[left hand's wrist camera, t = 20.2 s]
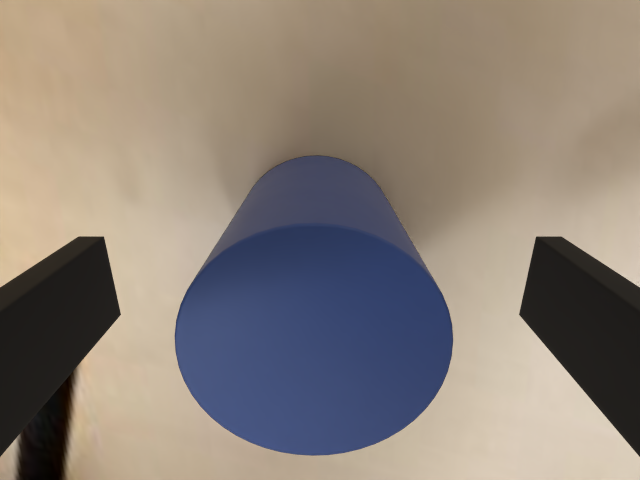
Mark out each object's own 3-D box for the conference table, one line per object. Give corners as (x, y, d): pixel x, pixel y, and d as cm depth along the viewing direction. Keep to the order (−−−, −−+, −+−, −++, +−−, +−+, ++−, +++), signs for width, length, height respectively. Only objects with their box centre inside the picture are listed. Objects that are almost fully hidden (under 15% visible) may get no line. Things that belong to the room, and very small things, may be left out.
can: (302, 120, 15) (286, 158, 7) (424, 220, 16) (512, 336, 9) (210, 243, 17) (122, 372, 9) (327, 323, 18) (333, 491, 11)
